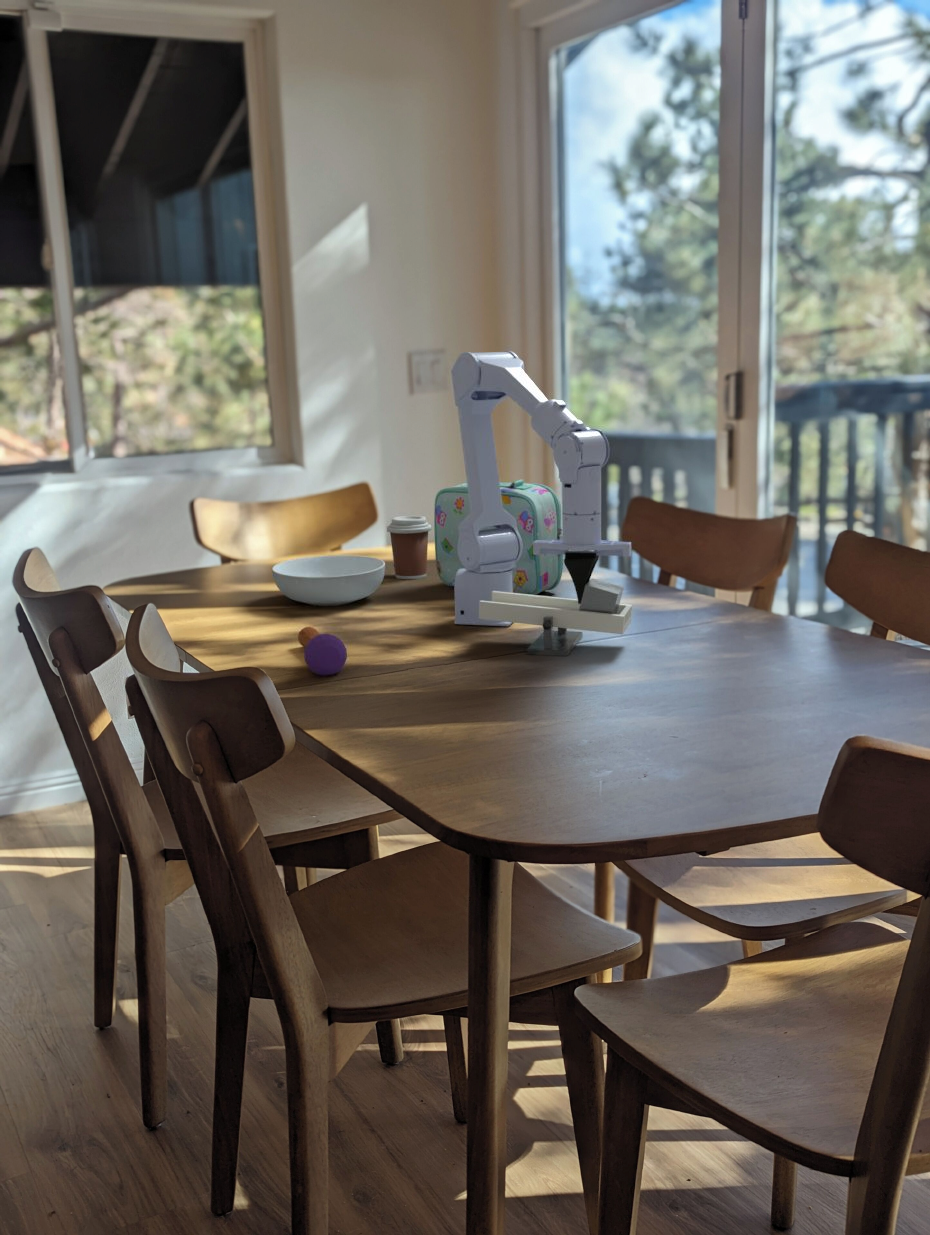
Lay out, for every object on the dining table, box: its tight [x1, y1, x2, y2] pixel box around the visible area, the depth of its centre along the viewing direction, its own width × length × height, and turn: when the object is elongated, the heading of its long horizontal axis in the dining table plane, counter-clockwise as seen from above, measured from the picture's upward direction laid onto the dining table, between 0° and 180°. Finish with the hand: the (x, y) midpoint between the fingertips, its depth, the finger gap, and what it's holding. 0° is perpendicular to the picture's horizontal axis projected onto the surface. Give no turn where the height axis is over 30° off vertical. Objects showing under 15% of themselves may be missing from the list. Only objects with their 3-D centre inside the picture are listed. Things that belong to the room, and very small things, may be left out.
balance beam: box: [479, 591, 633, 635], centre depth 173 cm, size 22×8×3 cm, turn 73°
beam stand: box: [526, 617, 583, 657], centre depth 174 cm, size 6×12×6 cm, turn 163°
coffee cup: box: [386, 515, 432, 580], centre depth 232 cm, size 9×9×12 cm
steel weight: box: [579, 578, 625, 614], centre depth 171 cm, size 5×5×4 cm
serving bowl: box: [271, 554, 386, 607], centre depth 211 cm, size 21×21×7 cm
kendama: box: [297, 626, 348, 677], centre depth 169 cm, size 6×6×20 cm
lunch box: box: [433, 478, 564, 595], centre depth 214 cm, size 27×10×21 cm, turn 50°
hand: (582, 602), depth 172 cm, fingers closed, pressing on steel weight
